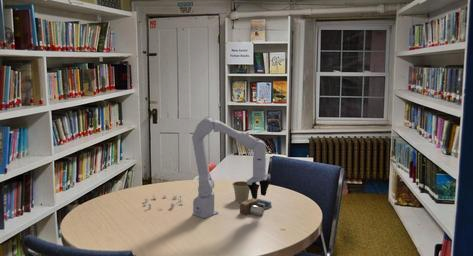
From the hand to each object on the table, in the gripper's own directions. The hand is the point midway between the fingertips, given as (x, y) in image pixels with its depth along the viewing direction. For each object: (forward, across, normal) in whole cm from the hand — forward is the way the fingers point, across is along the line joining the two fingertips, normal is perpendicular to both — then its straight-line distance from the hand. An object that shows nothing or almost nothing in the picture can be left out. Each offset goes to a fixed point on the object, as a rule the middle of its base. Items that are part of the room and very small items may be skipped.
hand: (258, 196), depth 196 cm
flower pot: (+9, +10, +19) cm, 23 cm away
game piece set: (+9, -18, +45) cm, 49 cm away
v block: (+8, +9, +6) cm, 14 cm away
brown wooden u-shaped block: (+8, 0, +6) cm, 10 cm away
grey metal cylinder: (+7, 0, +3) cm, 7 cm away
